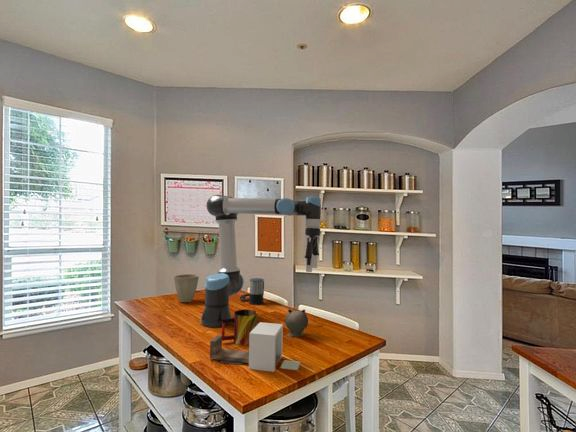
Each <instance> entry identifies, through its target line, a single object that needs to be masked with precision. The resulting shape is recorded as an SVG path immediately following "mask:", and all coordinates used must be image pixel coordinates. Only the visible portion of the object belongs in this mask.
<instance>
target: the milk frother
mask: <svg viewBox="0 0 576 432" xmlns="http://www.w3.org/2000/svg"><path fill="white" fill-rule="evenodd" d="M264 294H265V279H264V278H263V277H262V278H261V277H253V278H250V279H249V293H245V294H242V295H241V296H240V297H239V300H240V301H242V302H248V303H249V304H250V305H255V306H256V305H263V304H264V303H265V301H264ZM246 297H249V298H246Z"/></svg>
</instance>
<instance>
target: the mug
mask: <svg viewBox="0 0 576 432" xmlns="http://www.w3.org/2000/svg"><path fill="white" fill-rule="evenodd" d="M225 323H230V324H232V323H233V335H225V333H226V332H225V327H226V326H225ZM257 325H258V312H257V311H256V310H254V309H247V308H246V309H244V308H243V309H239V310H236V311H234V314H233V317H232V318H227V319H222V326H221V336H222V342H224V341H232V340H233V343H234V344H235V345H239V346H249V333H250V332H251V331H252V330H253V329H254V328H255V327H256V326H257Z"/></svg>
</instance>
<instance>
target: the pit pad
mask: <svg viewBox="0 0 576 432" xmlns="http://www.w3.org/2000/svg"><path fill="white" fill-rule="evenodd" d="M219 363H221V364H222V363H223V364H230V365H239V366H242V365H243V364H244V363H243V362H235V361H226V360H219Z"/></svg>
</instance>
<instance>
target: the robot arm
mask: <svg viewBox="0 0 576 432" xmlns="http://www.w3.org/2000/svg"><path fill="white" fill-rule="evenodd" d="M321 203H322V199H321V198H320V197H318V196H307V197H306V199H305V200H294V199H290V198H285V197H284V198H258V197H257V198H254V197H253V198H249V197H248V198H247V197H245V198H243V197H242V198H241V197H238V198H237V197H232V196H230V195H222V194H214V195H212V196H210V197H209V198H208V200H207V201H206V210H207V212H208V213H209V214H210V215H211V216H213V217H215V222H216V223H217V224H218V235H219V258H220V269H219V270H218V272H217V273H214V274H210V275H208V276H207V277H206V278H205V283H204V309H203V311H202V315H201V317H200V324H201V325H202V326H204V327H208V328H220V327H221V328H222V319H227V318H233V315H232V313H231V310H230V307H229V303H230V301H229V300H230V297H231V296H234V295H236V294H237V293H239V292H240V291H242V290H243V289H242V288H244V283H245V282H244V277H243V275H242V274H241V270H240V268H239V267H238V265H237V247H236V228H235V227H236V226H235V223H237V221H238V215H239V214H251V215H284V216H290V217H291V216H302V217H303V216H305V227H306V228H305V230H304V231H305V233H304V234H305V236H309V237H307V238H306V240H307V242H306V249H305V254H304V255H305V256H304V258H305V260H306V263H305V264H306V265H305V272H307V273H312V272H313V269H318V256H320V253H319V244H318V238H319V237H318V236H321V228H320V227H321V224H322V220H321V217H322V216H321V215H322V211H321V210H322V204H321ZM230 324H231V323H225V327H226V326H228V325H230Z"/></svg>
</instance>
